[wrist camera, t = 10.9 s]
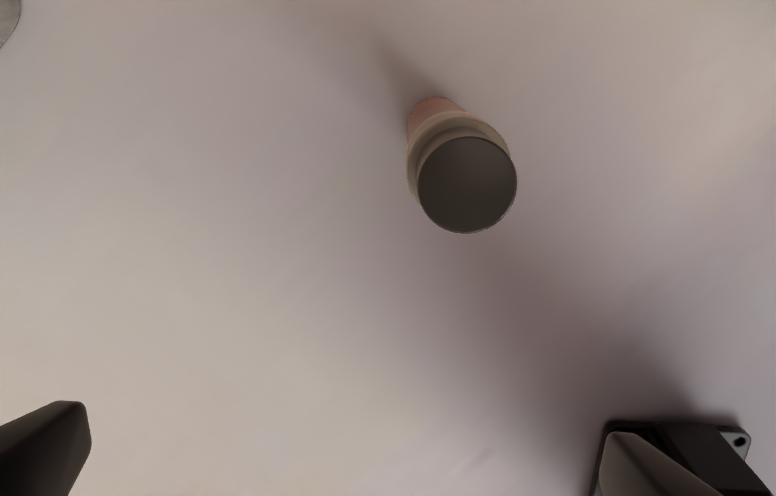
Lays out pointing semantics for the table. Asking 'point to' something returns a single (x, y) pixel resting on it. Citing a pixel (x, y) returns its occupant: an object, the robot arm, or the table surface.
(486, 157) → the capped glue stick
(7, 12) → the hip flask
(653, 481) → the robot arm
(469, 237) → the table surface
